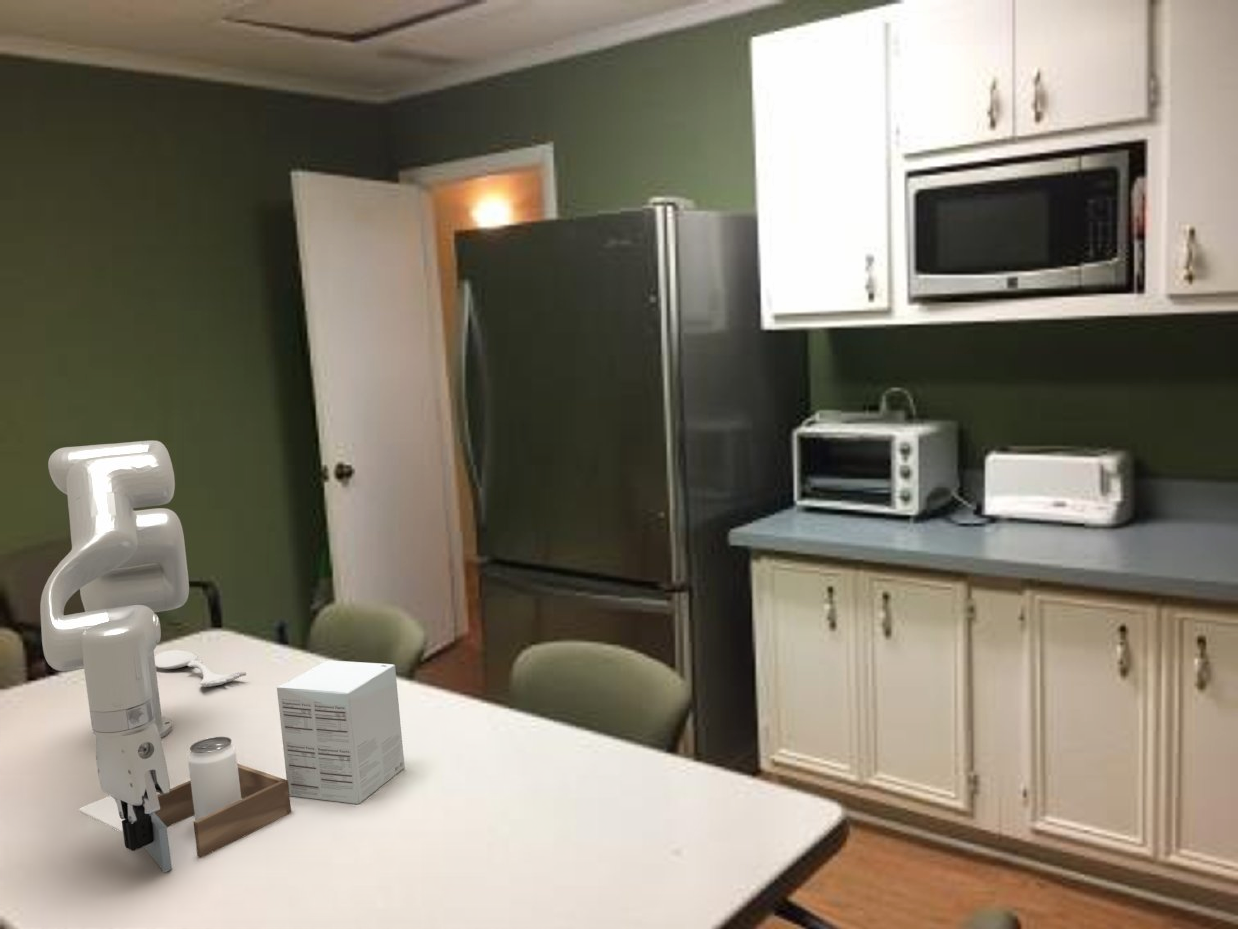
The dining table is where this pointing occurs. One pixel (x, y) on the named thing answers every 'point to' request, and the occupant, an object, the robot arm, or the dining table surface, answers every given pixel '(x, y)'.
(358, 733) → the supplement box
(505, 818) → the dining table surface
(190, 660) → the spoon
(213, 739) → the can
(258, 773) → the bin
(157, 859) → the bin gate
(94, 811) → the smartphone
